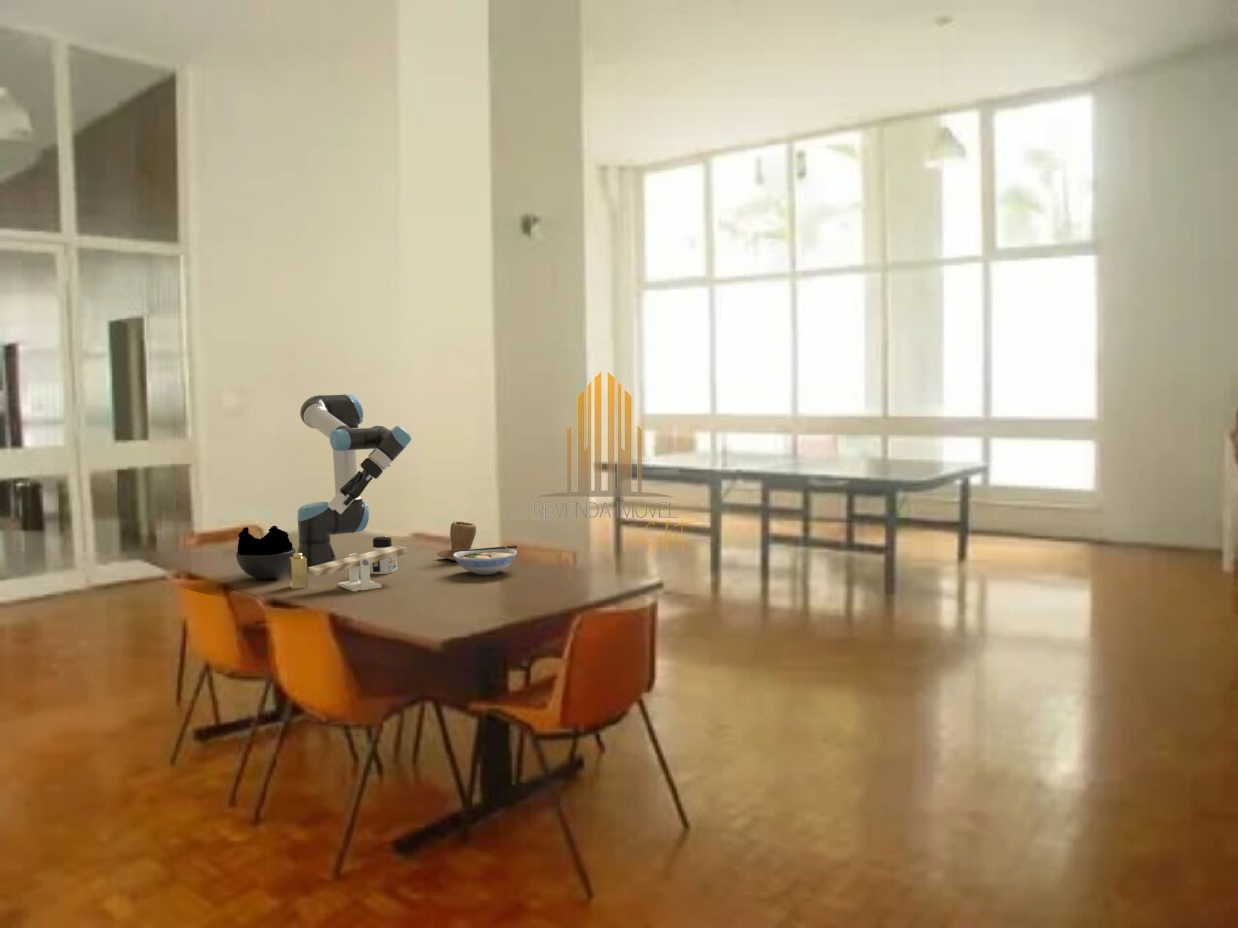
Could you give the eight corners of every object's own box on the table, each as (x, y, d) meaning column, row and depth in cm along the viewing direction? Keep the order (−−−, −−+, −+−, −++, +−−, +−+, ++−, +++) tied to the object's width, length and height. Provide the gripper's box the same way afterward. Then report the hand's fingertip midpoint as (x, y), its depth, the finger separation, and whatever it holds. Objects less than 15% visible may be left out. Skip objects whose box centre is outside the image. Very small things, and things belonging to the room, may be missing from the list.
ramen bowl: (454, 581, 343) (453, 558, 343) (447, 570, 365) (446, 548, 365) (526, 576, 350) (525, 553, 349) (515, 565, 372) (514, 543, 371)
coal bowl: (308, 575, 360) (306, 523, 359) (268, 586, 342) (265, 531, 340) (266, 572, 368) (263, 521, 367) (224, 582, 350) (221, 529, 349)
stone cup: (482, 560, 385) (481, 521, 383) (455, 564, 377) (454, 525, 376) (462, 555, 396) (461, 518, 395) (436, 559, 389) (434, 521, 388)
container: (388, 574, 360) (387, 538, 358) (368, 573, 361) (367, 538, 360) (397, 570, 367) (396, 535, 366) (378, 569, 369) (376, 535, 368)
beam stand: (353, 591, 330) (351, 560, 329) (338, 585, 340) (337, 555, 339) (381, 587, 336) (380, 556, 335) (366, 581, 346) (365, 551, 345)
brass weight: (290, 586, 341) (288, 553, 340) (305, 584, 343) (304, 551, 342) (292, 588, 336) (291, 555, 335) (307, 587, 339) (306, 553, 338)
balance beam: (317, 576, 325) (316, 570, 325) (309, 573, 331) (308, 567, 331) (407, 553, 343) (406, 547, 343) (398, 550, 350) (397, 545, 350)
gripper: (392, 473, 339) (349, 520, 334) (375, 469, 361) (334, 513, 356) (375, 458, 336) (332, 506, 331) (359, 455, 359) (318, 499, 353)
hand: (333, 509), depth 343 cm, fingers open, 13 cm apart
